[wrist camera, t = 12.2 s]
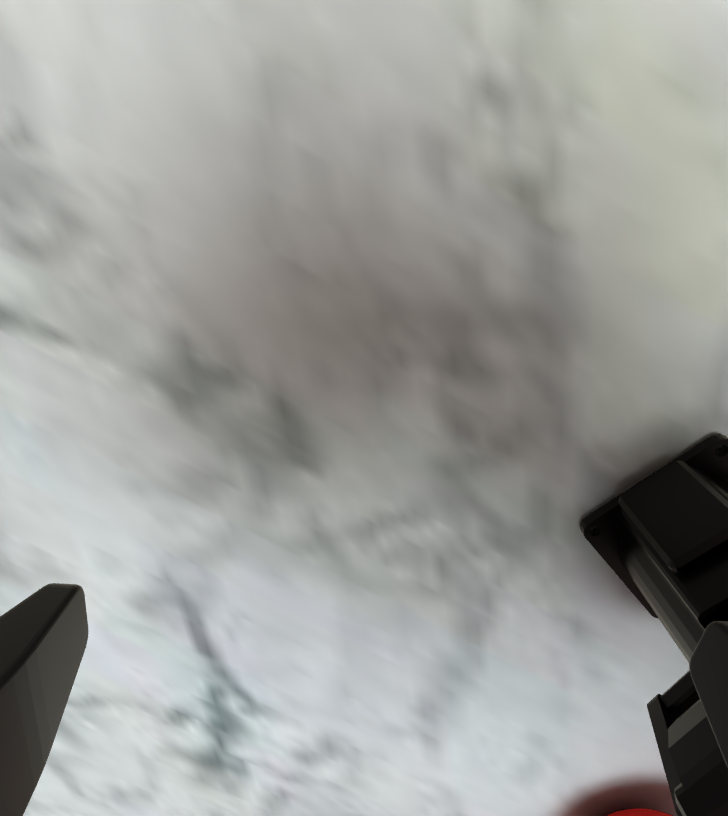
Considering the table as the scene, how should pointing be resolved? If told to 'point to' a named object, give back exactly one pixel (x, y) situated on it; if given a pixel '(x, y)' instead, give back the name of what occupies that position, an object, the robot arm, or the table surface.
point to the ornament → (639, 812)
